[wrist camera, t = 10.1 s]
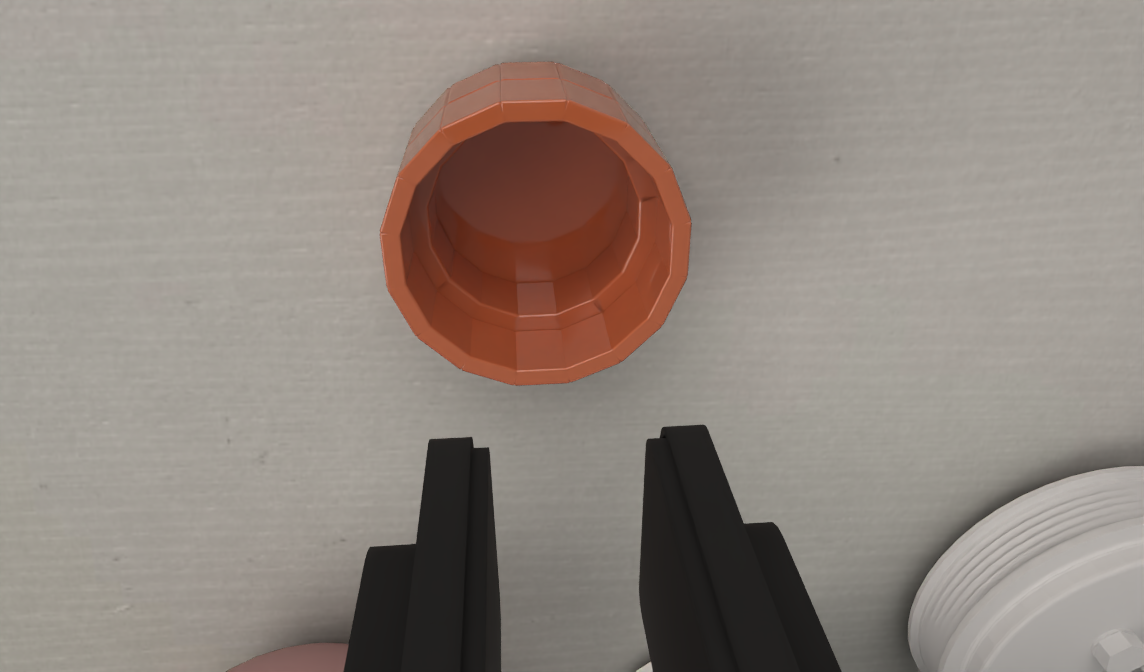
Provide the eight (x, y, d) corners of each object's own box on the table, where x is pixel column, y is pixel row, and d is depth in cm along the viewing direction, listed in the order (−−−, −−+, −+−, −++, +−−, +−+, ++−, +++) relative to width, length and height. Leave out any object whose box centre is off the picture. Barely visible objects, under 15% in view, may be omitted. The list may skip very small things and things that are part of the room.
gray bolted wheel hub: (1258, 585, 33) (1375, 693, 28) (974, 724, 36) (1039, 841, 31) (1166, 386, 27) (1293, 483, 23) (840, 571, 30) (897, 687, 26)
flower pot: (388, 60, 20) (361, 104, 16) (662, 54, 21) (701, 95, 17) (416, 306, 24) (400, 392, 20) (650, 296, 24) (680, 378, 20)
